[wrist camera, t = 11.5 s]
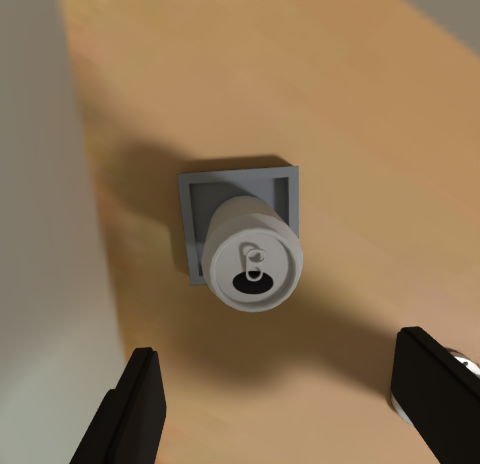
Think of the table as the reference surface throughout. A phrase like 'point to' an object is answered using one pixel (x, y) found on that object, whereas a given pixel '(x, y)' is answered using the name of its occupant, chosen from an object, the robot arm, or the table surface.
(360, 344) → the table surface
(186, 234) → the tray
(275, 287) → the can
